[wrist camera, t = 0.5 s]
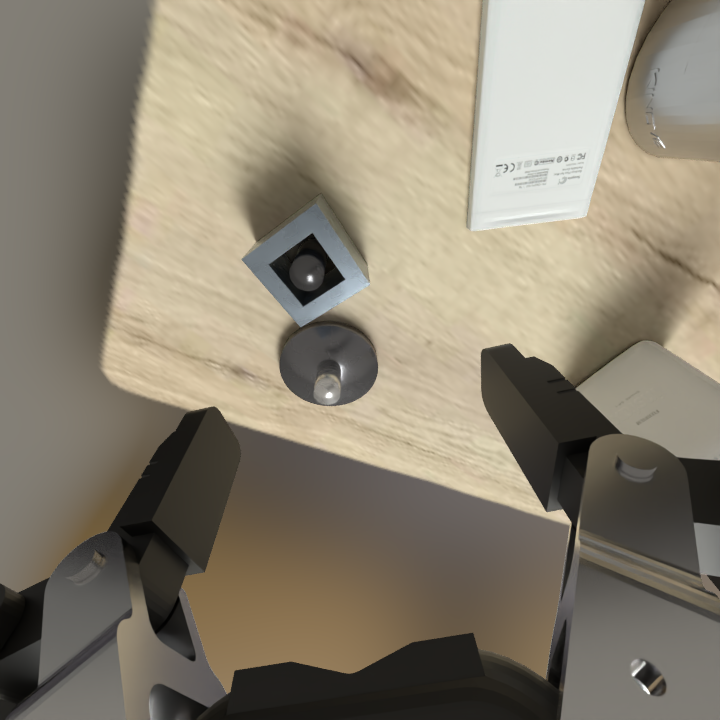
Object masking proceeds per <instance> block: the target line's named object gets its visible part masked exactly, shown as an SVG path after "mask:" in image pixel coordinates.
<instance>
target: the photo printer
mask: <svg viewBox="0 0 720 720" xmlns="http://www.w3.org/2000/svg"><path fill="white" fill-rule="evenodd" d="M576 391H579V392H580V393H581V394H582V395H583V396H584V397H585V398H586V399H587V400H588V401H589V402H590V403H591V404H593V405H594V406H595V407H596V408H597V409H598V410H599V411H600V412H601V413H602V414H603V415H604V416H605V417H606V418H607V419H608V420H609V421H610V422H611V423H612V424H613V425H614V426H615V427H616V428H617V429H618V430H619V431H620V432H621V433H622V434H627V435H633V436H638V437H641V438H644V439H647V440H650V441H652V442H654V443H657V444H659V445H660V446H662V447H664V448H665V449H667V450H668V451H670V452H671V453H672V454H674V455H675V456H676V457H681V458H693V459H707V460H720V384H719V383H718V382H716V381H715V380H713V379H712V378H710V377H708V376H707V375H705V374H704V373H702V372H701V371H700V370H698V369H696V368H695V367H693V366H692V365H690V364H689V363H687V362H686V361H684V360H683V359H681V358H679V357H678V356H676V355H675V354H673V353H672V352H670V351H669V350H667V349H666V348H664V347H663V346H661V345H659V344H658V343H656V342H654V341H640V342H638V343H637V344H635V345H633V346H632V347H630V348H629V349H628V350H626V351H625V352H623V353H622V354H620V355H619V356H618V357H616V358H615V359H614V360H612V361H611V362H610V363H608V364H607V365H605V366H604V367H603V368H601V369H600V370H599V371H597V372H596V373H595V374H594V375H592V376H591V377H590V378H588V379H587V380H586V381H584V382H583V383H582V384H580V385H579V386H578V387H577V388H576Z"/></svg>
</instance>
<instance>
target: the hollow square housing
mask: <svg viewBox="0 0 720 720" xmlns="http://www.w3.org/2000/svg"><path fill="white" fill-rule="evenodd" d="M312 233H313V234H314V236H315V237H316V239H317V240H318V241H319V243H320V244H321V246H322V247H323V248H324V250H325V251H326V253H327V254H328V256H329V257H330V258H331V260H332V261H333V263H334V264H335V265H336V268H334V269H333V270H331V271H330V272H328V273H327V274H325V275H324V279H323V282H322V284H321V285H320V286H319V287H318V288H317V289H315V290H312V291H304V290H301V289H299V288H297V287H296V286H295V285H294V284H293V283H292V281H291V279H290V268H291V266H292V263H291V261H290V260H289V259H288V257H287V256H286V255H285V254H284V253H285V252H287V251H288V250H289V249H291V248H292V247H294V246H295V245H296V244H298V243H299V242H300V241H302V240H303V239H305V238H306V237H307V236H309V235H310V234H312ZM242 261H243V262H244V263H245V264H246V265H247V266H248V268H249V269H250V270H251V271H252V272H253V273H254V274H255V276H256V277H257V278H258V279H259V280H260V281H261V282H262V284H263V285H264V286H265V287H266V288H267V289H268V291H269V292H270V293H271V294H272V295H273V296H274V297H275V299H276V300H277V301H278V302H279V303H280V304H281V305H282V307H283V308H284V309H285V310H286V311H287V312H288V314H289V315H290V316H291V317H292V318H293V319H294V320H295V322H296V323H297V324H298V325H299V326H300V327H303V326H304V325H306V324H307V323H309V322H311V321H312V320H314V319H315V318H317V317H319V316H320V315H322V314H323V313H325V312H327V311H328V310H330V309H332V308H333V307H335V306H336V305H338V304H340V303H341V302H343V301H344V300H346V299H348V298H349V297H351V296H352V295H354V294H356V293H357V292H359V291H360V290H362V289H364V288H365V287H367V286H369V285H370V280H369V273H368V265H367V264H366V262H365V260H364V259H363V257H362V256H361V254H360V253H359V251H358V250H357V248H356V246H355V245H354V243H353V242H352V240H351V239H350V237H349V236H348V234H347V232H346V231H345V229H344V228H343V226H342V225H341V223H340V222H339V220H338V219H337V217H336V215H335V214H334V212H333V211H332V209H331V208H330V206H329V205H328V203H327V201H326V200H325V198H324V197H323V195H322V194H319V195H318V196H317V197H315V198H314V199H313V200H311V201H310V202H309V203H308V204H306V205H305V206H304V207H302V208H301V209H300V210H298V211H297V212H296V213H294V214H293V215H292V216H290V217H289V218H288V219H286V220H285V221H284V222H282V223H281V224H280V225H279V226H277V227H276V228H275V229H273V230H272V231H271V232H269V233H268V234H267V235H265V236H264V237H263V238H261V239H260V240H259V241H257V242H256V243H255V244H254V246H253V247H252V248H251V249H250V250H249V251H248V252H247V254H246V255H245V256H244V257H243V258H242Z"/></svg>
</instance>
